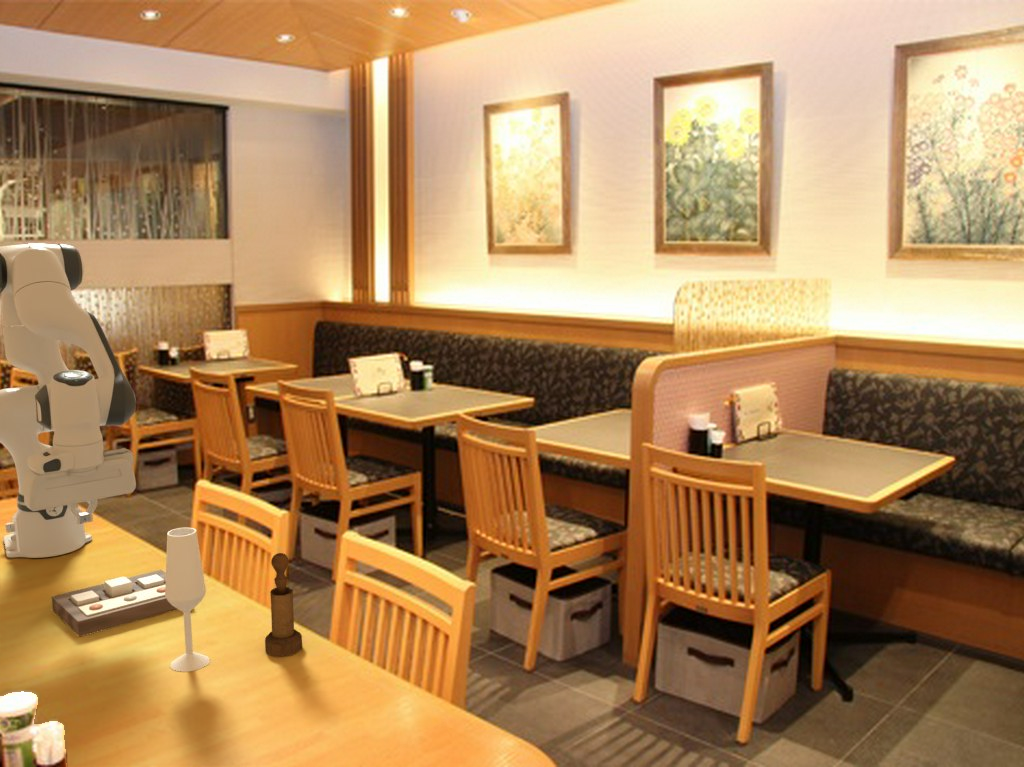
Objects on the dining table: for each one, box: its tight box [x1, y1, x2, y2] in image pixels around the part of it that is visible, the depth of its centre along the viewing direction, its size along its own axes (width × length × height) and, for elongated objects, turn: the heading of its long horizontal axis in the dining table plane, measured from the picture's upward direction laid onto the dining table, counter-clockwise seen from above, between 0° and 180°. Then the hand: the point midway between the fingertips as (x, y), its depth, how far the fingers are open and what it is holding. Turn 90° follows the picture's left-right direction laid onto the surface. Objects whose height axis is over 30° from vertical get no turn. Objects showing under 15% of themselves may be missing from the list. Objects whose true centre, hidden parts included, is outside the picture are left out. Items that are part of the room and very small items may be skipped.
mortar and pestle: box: [264, 552, 303, 658], centre depth 172 cm, size 7×6×18 cm
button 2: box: [137, 574, 164, 589], centre depth 197 cm, size 4×4×3 cm
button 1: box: [71, 590, 99, 607], centre depth 189 cm, size 4×4×3 cm
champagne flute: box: [165, 527, 211, 673], centre depth 166 cm, size 7×7×24 cm
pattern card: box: [78, 585, 165, 616], centre depth 188 cm, size 5×18×1 cm, turn 132°
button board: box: [51, 569, 178, 637], centre depth 192 cm, size 16×22×3 cm
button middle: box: [103, 576, 133, 598], centre depth 193 cm, size 4×4×3 cm
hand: (83, 522), depth 189 cm, fingers closed
